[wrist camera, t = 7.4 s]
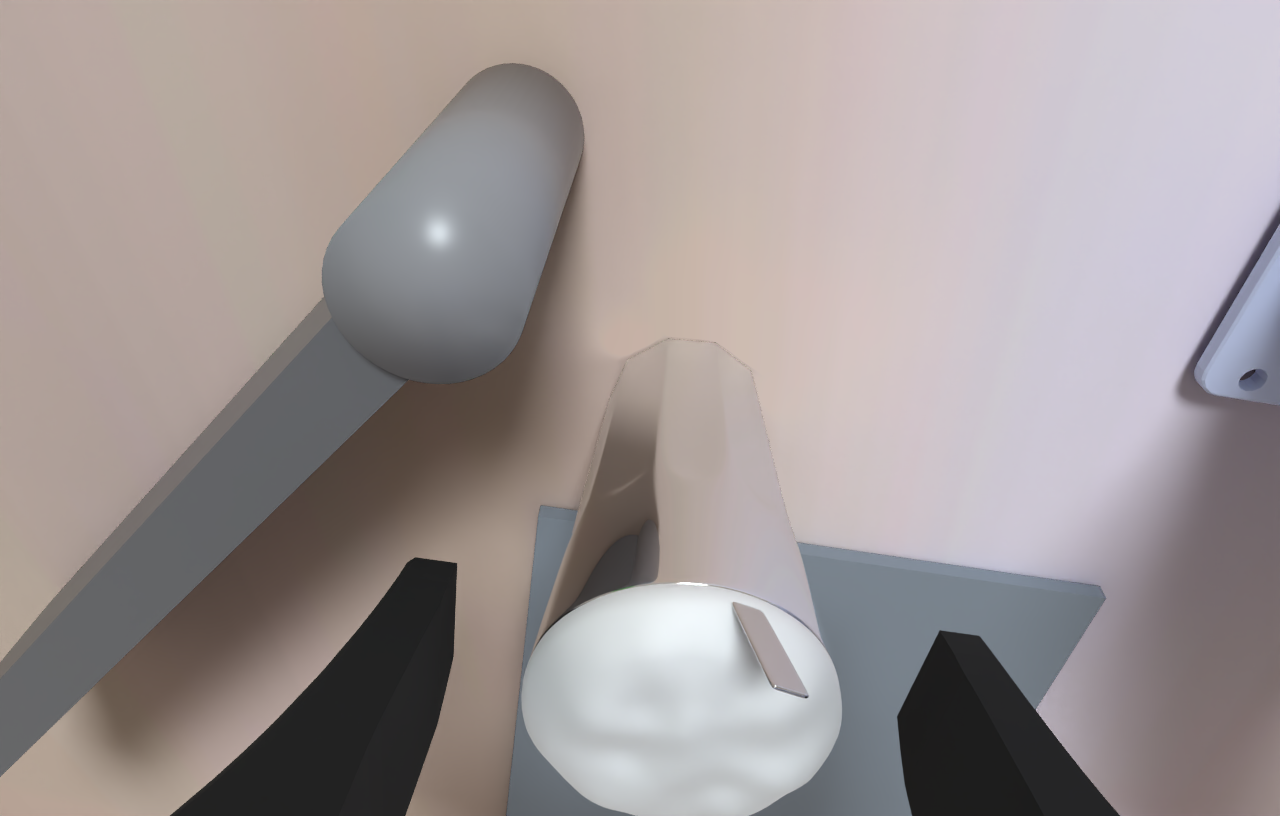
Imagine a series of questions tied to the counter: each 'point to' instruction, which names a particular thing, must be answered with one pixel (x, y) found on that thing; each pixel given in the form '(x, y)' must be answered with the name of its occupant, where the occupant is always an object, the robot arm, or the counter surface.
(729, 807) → the milkshake
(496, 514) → the counter surface
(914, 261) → the counter surface
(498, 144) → the grey rectangular panel
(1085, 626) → the mat
